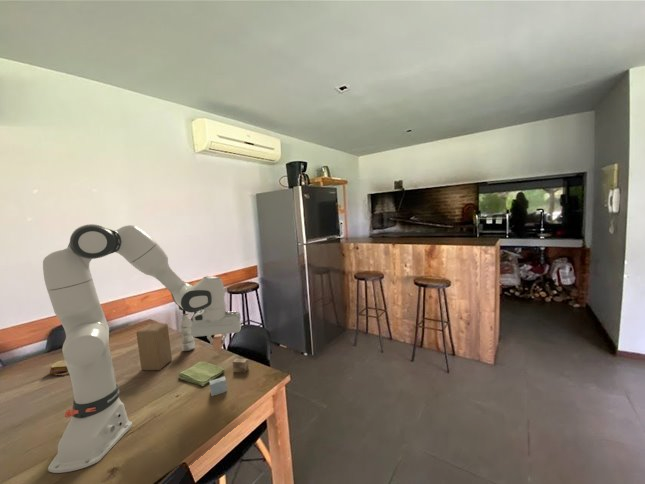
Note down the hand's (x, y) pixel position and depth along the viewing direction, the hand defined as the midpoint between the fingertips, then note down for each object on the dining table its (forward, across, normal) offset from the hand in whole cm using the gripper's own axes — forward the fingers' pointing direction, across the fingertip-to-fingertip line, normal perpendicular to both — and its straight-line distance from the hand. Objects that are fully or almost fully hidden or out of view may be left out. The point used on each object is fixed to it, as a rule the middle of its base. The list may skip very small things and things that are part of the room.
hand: (218, 343), depth 120 cm
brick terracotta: (+2, 0, 0) cm, 2 cm away
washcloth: (+17, +10, -6) cm, 21 cm away
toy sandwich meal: (+18, +80, -27) cm, 86 cm away
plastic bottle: (+17, +25, -34) cm, 45 cm away
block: (+17, +36, -20) cm, 44 cm away
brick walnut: (+16, -8, -5) cm, 19 cm away
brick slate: (+17, -1, +9) cm, 19 cm away
